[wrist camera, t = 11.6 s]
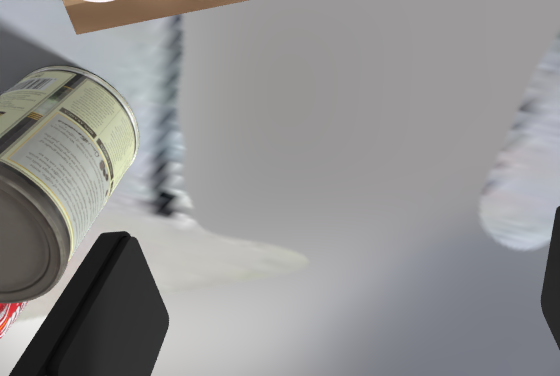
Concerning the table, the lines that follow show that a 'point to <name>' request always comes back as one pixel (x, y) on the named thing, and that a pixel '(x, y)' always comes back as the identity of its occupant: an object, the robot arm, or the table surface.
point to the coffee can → (56, 171)
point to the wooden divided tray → (129, 11)
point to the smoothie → (98, 0)
